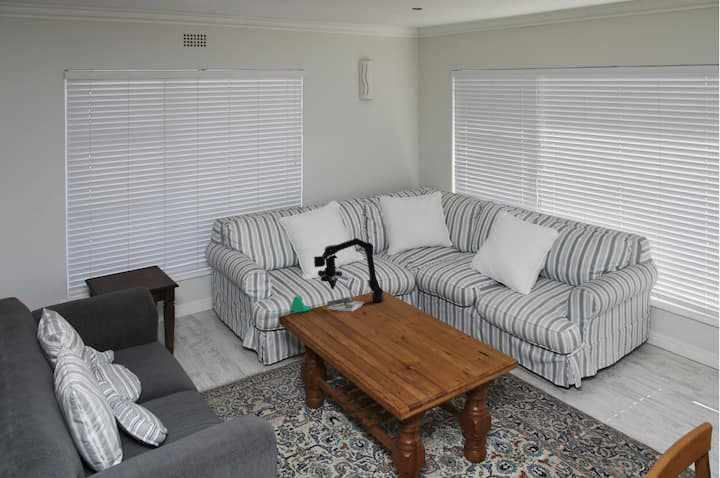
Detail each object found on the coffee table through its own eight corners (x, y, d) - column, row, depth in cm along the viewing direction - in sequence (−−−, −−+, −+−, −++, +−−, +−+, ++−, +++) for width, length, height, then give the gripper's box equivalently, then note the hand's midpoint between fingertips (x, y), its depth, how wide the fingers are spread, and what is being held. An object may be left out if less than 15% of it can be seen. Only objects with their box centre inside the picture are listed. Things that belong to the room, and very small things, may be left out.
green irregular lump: (312, 310, 389) (310, 294, 387) (304, 313, 383) (302, 297, 381) (299, 308, 396) (297, 293, 395) (290, 311, 390) (289, 295, 389)
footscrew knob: (350, 302, 393) (350, 296, 392) (354, 303, 388) (353, 297, 387) (326, 306, 386) (326, 301, 385) (330, 308, 381) (329, 302, 380)
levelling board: (364, 303, 392) (363, 297, 392) (352, 311, 376) (351, 304, 376) (339, 303, 400) (339, 296, 399) (326, 310, 384) (326, 303, 383)
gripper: (326, 262, 399) (328, 285, 401) (312, 268, 383) (314, 292, 385) (341, 262, 394) (343, 286, 397) (328, 268, 378) (330, 292, 380)
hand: (332, 289), depth 390 cm, fingers closed
